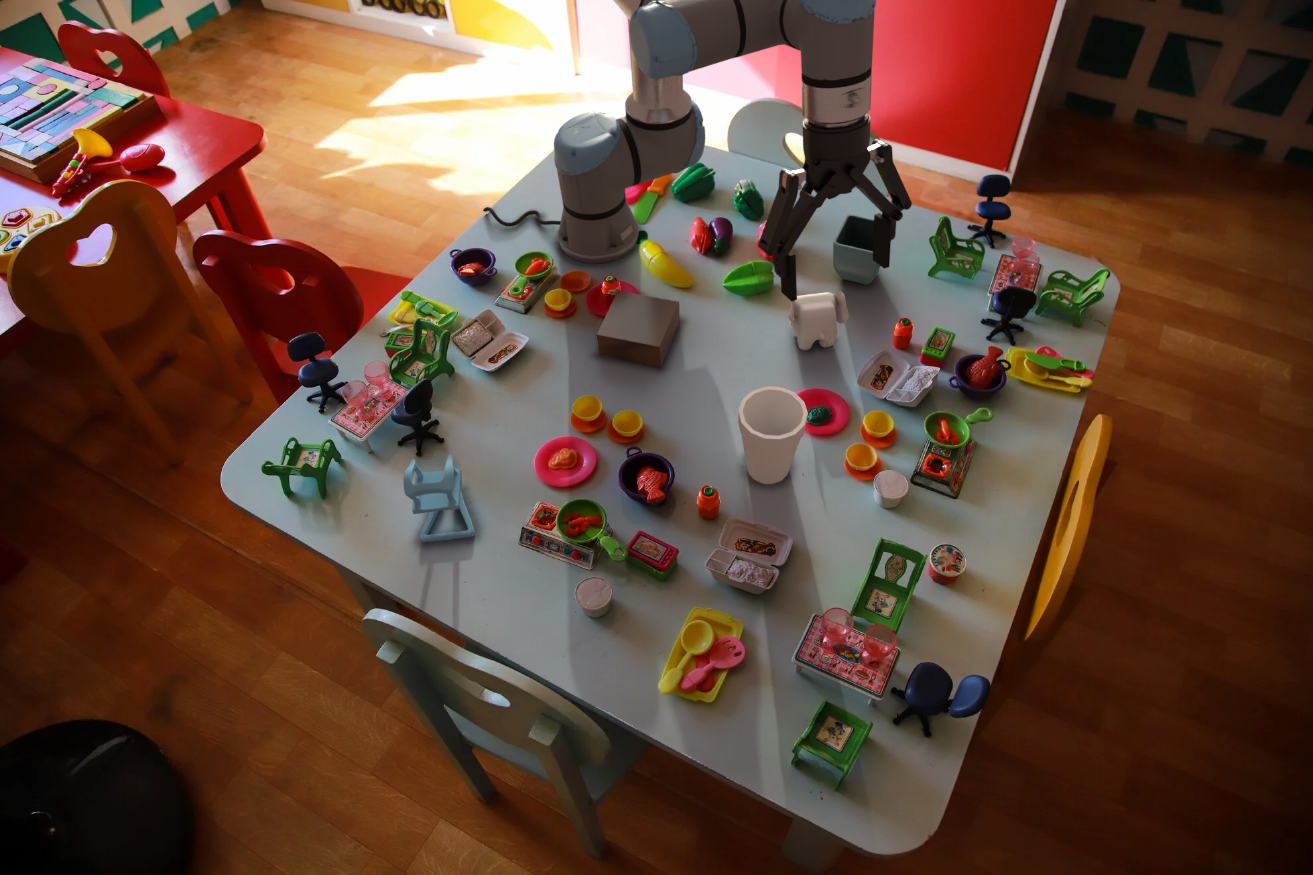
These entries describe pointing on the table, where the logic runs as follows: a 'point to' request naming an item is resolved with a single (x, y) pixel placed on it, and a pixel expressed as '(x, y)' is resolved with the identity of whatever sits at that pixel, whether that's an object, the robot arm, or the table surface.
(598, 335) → the block
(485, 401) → the table surface
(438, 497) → the chair
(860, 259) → the flower pot
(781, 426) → the foam cup
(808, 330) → the elephant figurine
